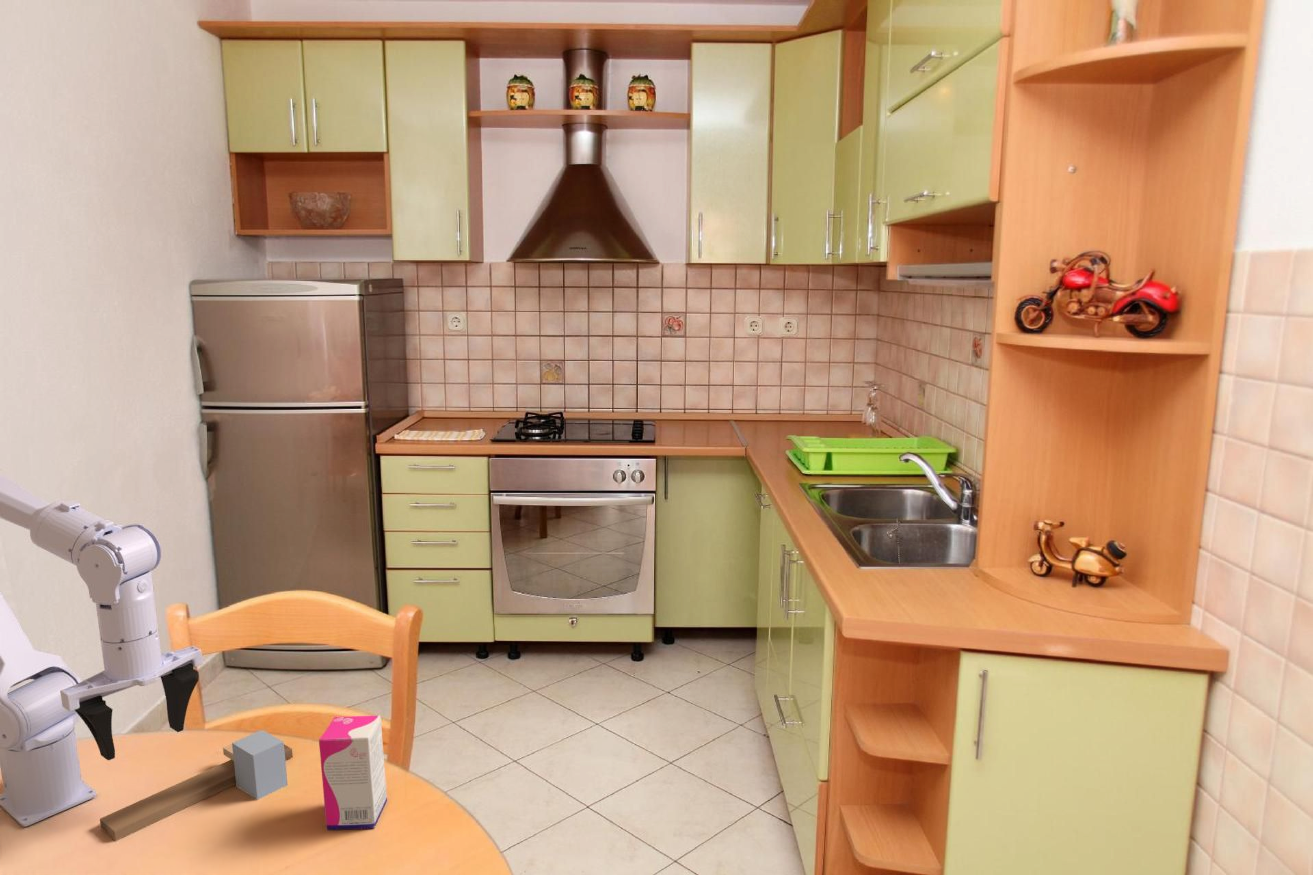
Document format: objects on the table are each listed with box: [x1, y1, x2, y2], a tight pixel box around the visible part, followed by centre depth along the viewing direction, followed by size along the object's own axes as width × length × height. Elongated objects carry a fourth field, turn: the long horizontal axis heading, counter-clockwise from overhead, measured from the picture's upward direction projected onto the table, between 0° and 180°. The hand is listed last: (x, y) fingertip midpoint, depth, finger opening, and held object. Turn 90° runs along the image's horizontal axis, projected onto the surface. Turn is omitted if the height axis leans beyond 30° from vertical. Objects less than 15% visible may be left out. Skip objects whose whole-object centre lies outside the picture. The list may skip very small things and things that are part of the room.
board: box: [99, 744, 293, 842], centre depth 112 cm, size 4×22×1 cm, turn 143°
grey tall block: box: [222, 729, 289, 801], centre depth 114 cm, size 10×4×6 cm, turn 53°
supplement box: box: [318, 715, 388, 831], centre depth 106 cm, size 6×6×12 cm
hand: (143, 742), depth 104 cm, fingers open, 7 cm apart
